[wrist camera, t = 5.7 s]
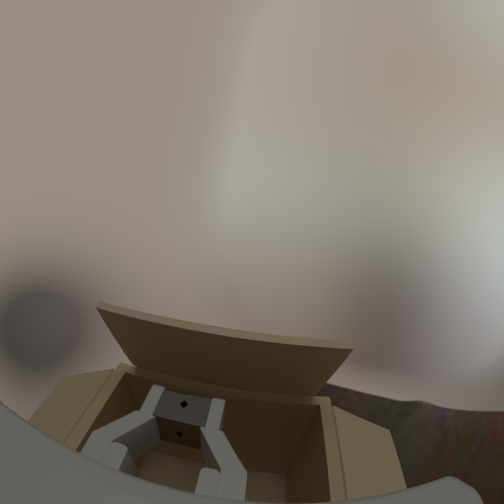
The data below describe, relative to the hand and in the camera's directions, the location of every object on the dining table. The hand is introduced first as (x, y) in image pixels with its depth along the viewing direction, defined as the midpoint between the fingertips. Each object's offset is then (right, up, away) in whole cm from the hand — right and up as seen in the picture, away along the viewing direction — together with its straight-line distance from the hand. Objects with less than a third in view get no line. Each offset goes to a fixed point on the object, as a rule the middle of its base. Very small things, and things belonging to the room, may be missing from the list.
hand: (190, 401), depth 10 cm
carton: (-2, -17, +1) cm, 17 cm away
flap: (+1, 0, +4) cm, 4 cm away
